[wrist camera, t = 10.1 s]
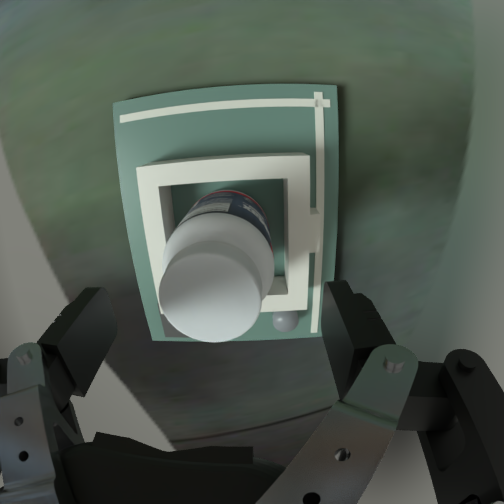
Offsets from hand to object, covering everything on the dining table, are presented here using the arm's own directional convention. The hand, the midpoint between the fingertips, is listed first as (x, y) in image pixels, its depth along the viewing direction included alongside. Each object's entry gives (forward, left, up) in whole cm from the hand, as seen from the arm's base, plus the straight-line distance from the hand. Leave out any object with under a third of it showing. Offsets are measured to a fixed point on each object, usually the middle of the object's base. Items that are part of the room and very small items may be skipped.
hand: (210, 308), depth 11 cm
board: (0, 0, -11) cm, 11 cm away
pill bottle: (0, 0, -10) cm, 10 cm away
